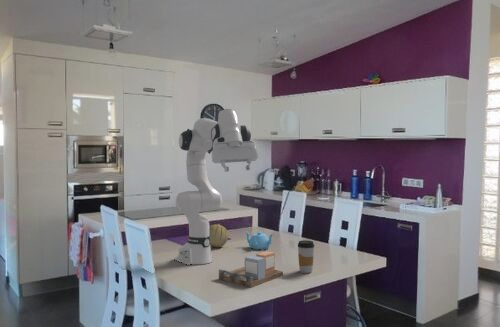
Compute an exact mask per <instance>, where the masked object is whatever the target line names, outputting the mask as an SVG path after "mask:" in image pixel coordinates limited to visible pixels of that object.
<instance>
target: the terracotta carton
mask: <svg viewBox="0 0 500 327" xmlns="http://www.w3.org/2000/svg"><path fill="white" fill-rule="evenodd" d="M255 256H257V257H262V258H265V274H268V273H270V272H273V271H275V270H276V269H275V266H276V265H275V263H276V262H275V261H276V260H275V258H276V257H275V256H276V255H275V252H273V251H267V250H266V251H265V250H264V251H262V252H259V253H255Z"/></svg>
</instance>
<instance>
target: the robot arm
mask: <svg viewBox="0 0 500 327" xmlns="http://www.w3.org/2000/svg"><path fill="white" fill-rule="evenodd" d="M251 137H252V133H251V130H250V129H249V127H247V126H246V125H245V124H244V125H240V122H239V118H238V115H237V113H236V111H235V110H234V109H229V108H228V109H226V108H225V109H222V110H220V111H218V119H217V121H216V120H213V119H211V118H207V117H204V118H199V119H197V120H196V121H195V122H194V124H193V128H192V129H190V128H187V129H186V130H184V131H182V132H181V133H180V135H179V137H178V145H179V148H180V149H181V150H182V151H186V152H187V153H186V160H185V162H186V164H185V166H186V176H187V178H186V179H187V181H188V182H189V184H191V185H193V186H195V187H196V188H197V190H187V191H182V192H179V193H178V194H177V195H176V197H175V206H176V208H177V209H178V210H179V211H180V212H182V213H183V214H184V215H185V217H186V219H187V222H188V230H189V231H188V234H189V235H188V236H187V237H185V239H186V243H184V244H183V245H182V246H181V247H180V248H179V249H178V254H177V255H178V256H176V257H174V258H173V260H174V259H175V260H174V261H176V260H177V262H178V261H179V263H181V262H182V264H184V265H186V264H187V265H188V266H191V265H190V264H192V265H207V264H210V263H212V262H213V256H212V249H211V246H210V235H209V226H210V222H209V220H208V219H207V218H206V217H204V216H201V215H200V211H213V210H217V209H219V208H220V207H221V206H222V204H223V196H222V194H221V192H220V191H218V190H217V189H216V188H214V187H213V186H212V184H211V182H210V181H209V177H208V169H207V160H206V153H208V154H209V155H210V154H211V162H212V163H213V164H220V165H221V167H222V168H223V169H224V172H225V173H228V172H230V168H229V166H227V165H226V163H227V164H228V163H245V162H246V164H247V165H246V166H245V171H251V166H250V165H251V163H252V162H256V161H257V159H258V158H259V153H258V150H257V145H256V142H254V141H252V140H251ZM187 265H186V266H187Z"/></svg>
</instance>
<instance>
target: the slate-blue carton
mask: <svg viewBox="0 0 500 327" xmlns="http://www.w3.org/2000/svg"><path fill="white" fill-rule="evenodd" d="M244 267H245V275H247V276H251V277H253V279H257V280H259V279H262V278H265V258H262V257H257V256H256V255H248V256H245V257H244Z"/></svg>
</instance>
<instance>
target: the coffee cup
mask: <svg viewBox="0 0 500 327" xmlns="http://www.w3.org/2000/svg"><path fill="white" fill-rule="evenodd" d="M297 251H298V254H297V255H298V265H299V272H300V273H302V274H311V273H312V272H313V266H314V252H315V244H314V241H313V240H305V239H304V240H303V239H302V240H299V241H298V243H297Z"/></svg>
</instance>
